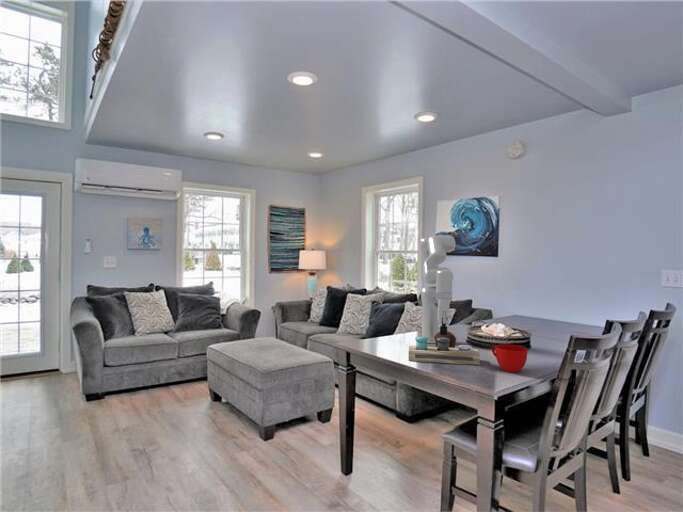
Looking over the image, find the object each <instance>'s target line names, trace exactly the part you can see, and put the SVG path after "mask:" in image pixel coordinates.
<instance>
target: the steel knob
mask: <svg viewBox="0 0 683 512" xmlns="http://www.w3.org/2000/svg"><path fill="white" fill-rule="evenodd" d="M457 348H458V349H459V352H470V351H471V349H473V347H472V345H468V344H459V345H458V347H457Z"/></svg>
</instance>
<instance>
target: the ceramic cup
mask: <svg viewBox="0 0 683 512" xmlns="http://www.w3.org/2000/svg"><path fill="white" fill-rule="evenodd" d="M491 353H492V355H493V356H494V358H496V361H497V364H498V365H499V367H500V368H501V369H502V371H504V372H506V371H508V372H507V373H512V372H516V373H519V372H520V371H521V370H522V369H523V368H524V367H525V365H526V363H527V360H528V348H527V347H525V346H522V345H517V344H509V343H508V344H503V343H502V344H497V345H493V346H492V347H491Z"/></svg>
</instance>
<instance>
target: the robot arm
mask: <svg viewBox="0 0 683 512" xmlns="http://www.w3.org/2000/svg"><path fill="white" fill-rule="evenodd" d="M455 248H456V239H455V237H454V236H452V235H447V234H446V235H445V234H444V235H443V234H442V235H441V234H439V235H438V234H437V235H431V236H425V237H422V238H421V239H420V240H419V251H420V253H421V256H422V260H423V265H422V276H423V281H424V283H426V284H427V285H428V286H423V287H422V288H421V290H420V295H421V297H420V298H421V308H422V309H421V310H422V311H421V317H422V319H421V323H422V324H421V336H423V337H428V341H427V344H435V339H434V337H435V335H436V334H437V333H438V332H440V335H447V331H448V326H447V325H448V321H449V320H450V303H451V302H452V300H453V281H454V273H453V272H452V270H451V269H450V268H449V267H439V265H440V264H443V263H444V262H446V260H447V253H451V252H453V251H455ZM431 285H432V286H431ZM436 304H437V306H436Z"/></svg>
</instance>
